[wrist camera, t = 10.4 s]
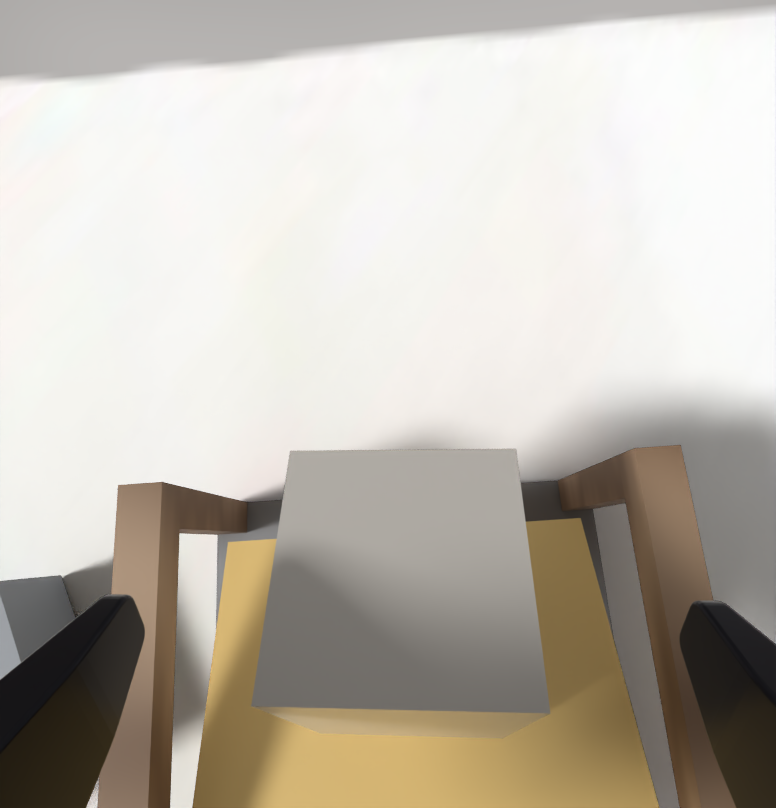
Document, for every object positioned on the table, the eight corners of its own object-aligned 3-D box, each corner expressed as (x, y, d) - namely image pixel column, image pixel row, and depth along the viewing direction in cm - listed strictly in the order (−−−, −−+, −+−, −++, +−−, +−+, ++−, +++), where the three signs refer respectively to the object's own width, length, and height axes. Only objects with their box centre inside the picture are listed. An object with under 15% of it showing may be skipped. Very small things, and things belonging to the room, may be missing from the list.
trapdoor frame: (647, 886, 18) (828, 1152, 10) (217, 907, 19) (73, 1179, 11) (583, 480, 22) (680, 444, 14) (223, 505, 22) (118, 485, 14)
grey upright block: (502, 738, 14) (550, 713, 9) (320, 733, 15) (251, 705, 9) (487, 557, 17) (516, 448, 12) (335, 556, 18) (289, 450, 12)
